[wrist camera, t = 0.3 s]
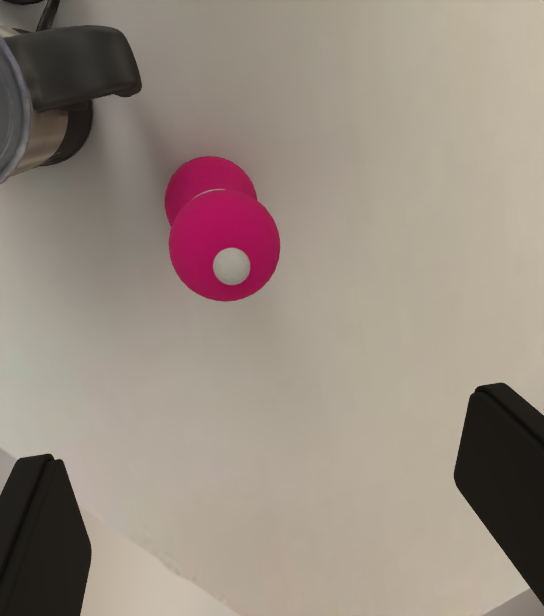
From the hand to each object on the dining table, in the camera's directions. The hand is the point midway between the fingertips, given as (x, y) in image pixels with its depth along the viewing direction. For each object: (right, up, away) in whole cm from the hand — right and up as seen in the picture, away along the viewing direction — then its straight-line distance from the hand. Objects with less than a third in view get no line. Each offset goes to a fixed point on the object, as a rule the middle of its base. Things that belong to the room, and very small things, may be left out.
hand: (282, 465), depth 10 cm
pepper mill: (-6, +14, +27) cm, 31 cm away
